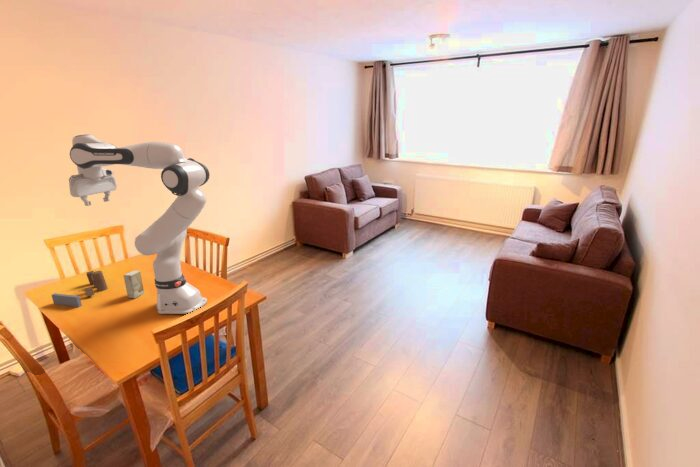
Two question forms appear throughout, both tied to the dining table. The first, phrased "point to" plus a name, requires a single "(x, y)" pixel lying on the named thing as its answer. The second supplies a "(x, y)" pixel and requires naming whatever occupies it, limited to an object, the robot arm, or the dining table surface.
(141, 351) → the dining table surface
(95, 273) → the wooden block set
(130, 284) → the skincare box
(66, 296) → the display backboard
